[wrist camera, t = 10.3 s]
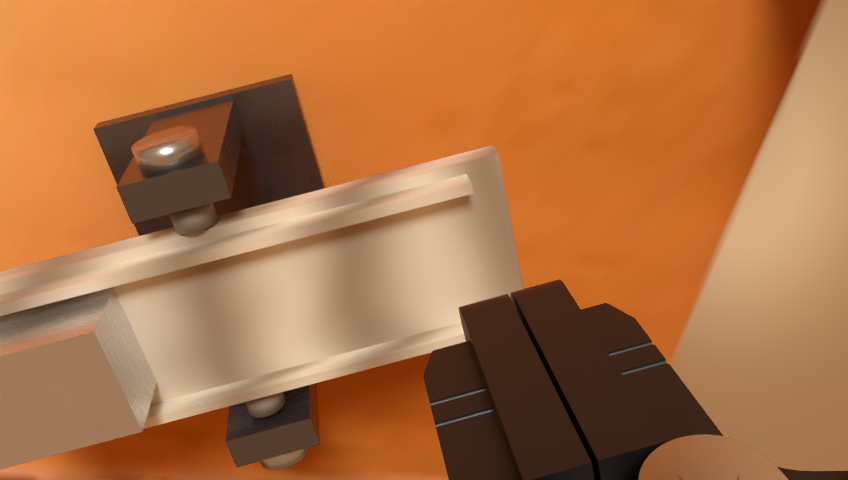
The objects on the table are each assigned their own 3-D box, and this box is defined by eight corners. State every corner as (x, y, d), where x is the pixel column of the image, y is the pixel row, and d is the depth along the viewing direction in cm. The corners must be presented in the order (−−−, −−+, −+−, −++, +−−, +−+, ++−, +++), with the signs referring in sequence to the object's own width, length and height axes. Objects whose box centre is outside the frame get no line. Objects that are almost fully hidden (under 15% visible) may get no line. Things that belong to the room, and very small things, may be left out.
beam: (486, 119, 34) (503, 141, 31) (524, 325, 38) (541, 359, 36) (-112, 272, 33) (-149, 308, 30) (4, 463, 37) (-19, 509, 35)
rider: (113, 287, 33) (94, 331, 30) (156, 381, 35) (142, 431, 32) (-51, 330, 33) (-89, 379, 29) (3, 421, 35) (-27, 476, 32)
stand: (286, 58, 39) (285, 117, 30) (367, 328, 47) (386, 443, 37) (91, 108, 39) (28, 183, 29) (203, 372, 46) (181, 500, 37)
